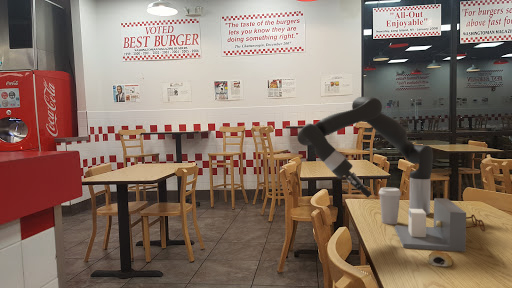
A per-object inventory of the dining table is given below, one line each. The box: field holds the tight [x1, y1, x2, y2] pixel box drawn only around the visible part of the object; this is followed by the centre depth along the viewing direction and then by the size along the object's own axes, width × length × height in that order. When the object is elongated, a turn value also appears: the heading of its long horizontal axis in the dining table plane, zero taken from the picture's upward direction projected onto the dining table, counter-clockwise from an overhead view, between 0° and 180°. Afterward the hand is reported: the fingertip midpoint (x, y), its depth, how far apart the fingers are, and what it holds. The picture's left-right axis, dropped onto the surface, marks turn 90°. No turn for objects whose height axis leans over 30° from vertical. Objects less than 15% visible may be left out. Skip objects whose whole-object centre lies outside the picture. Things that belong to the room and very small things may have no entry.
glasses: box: [466, 214, 486, 232], centre depth 157 cm, size 13×13×5 cm
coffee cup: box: [378, 187, 402, 225], centre depth 166 cm, size 10×10×15 cm
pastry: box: [427, 250, 453, 268], centre depth 119 cm, size 9×7×4 cm
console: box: [394, 197, 467, 252], centre depth 142 cm, size 24×20×14 cm
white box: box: [407, 208, 427, 237], centre depth 143 cm, size 7×5×9 cm
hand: (369, 195), depth 146 cm, fingers closed
